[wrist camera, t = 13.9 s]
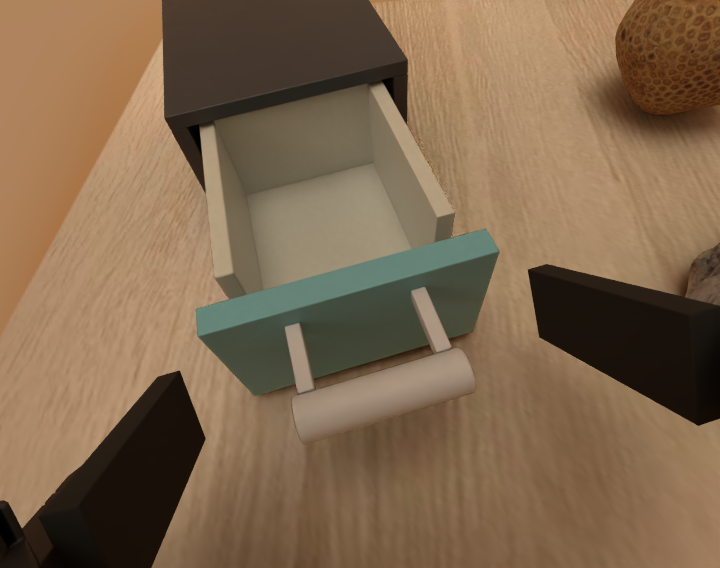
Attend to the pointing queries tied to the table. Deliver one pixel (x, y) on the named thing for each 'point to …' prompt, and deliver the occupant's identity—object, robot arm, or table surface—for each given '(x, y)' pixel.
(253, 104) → the dark drawer cabinet
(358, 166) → the drawer
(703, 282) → the mineral rock
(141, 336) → the table surface
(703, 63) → the natural sponge
